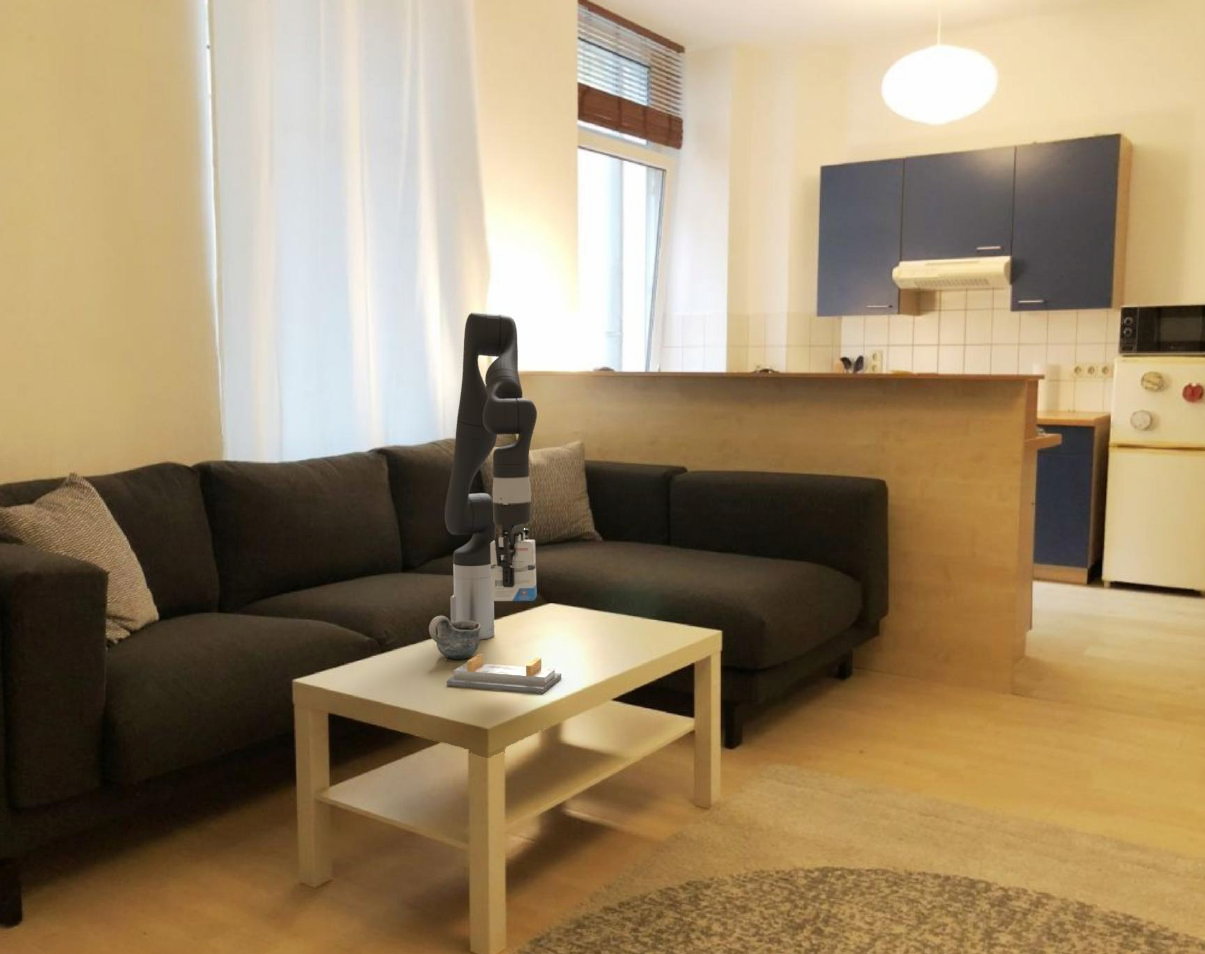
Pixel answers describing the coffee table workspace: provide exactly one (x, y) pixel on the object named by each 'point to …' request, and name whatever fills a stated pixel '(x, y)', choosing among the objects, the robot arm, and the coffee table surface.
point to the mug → (455, 637)
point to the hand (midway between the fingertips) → (513, 583)
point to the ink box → (516, 574)
